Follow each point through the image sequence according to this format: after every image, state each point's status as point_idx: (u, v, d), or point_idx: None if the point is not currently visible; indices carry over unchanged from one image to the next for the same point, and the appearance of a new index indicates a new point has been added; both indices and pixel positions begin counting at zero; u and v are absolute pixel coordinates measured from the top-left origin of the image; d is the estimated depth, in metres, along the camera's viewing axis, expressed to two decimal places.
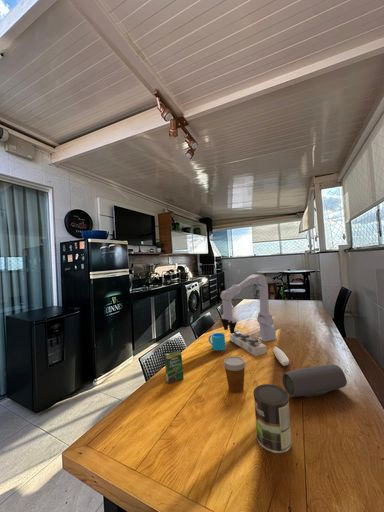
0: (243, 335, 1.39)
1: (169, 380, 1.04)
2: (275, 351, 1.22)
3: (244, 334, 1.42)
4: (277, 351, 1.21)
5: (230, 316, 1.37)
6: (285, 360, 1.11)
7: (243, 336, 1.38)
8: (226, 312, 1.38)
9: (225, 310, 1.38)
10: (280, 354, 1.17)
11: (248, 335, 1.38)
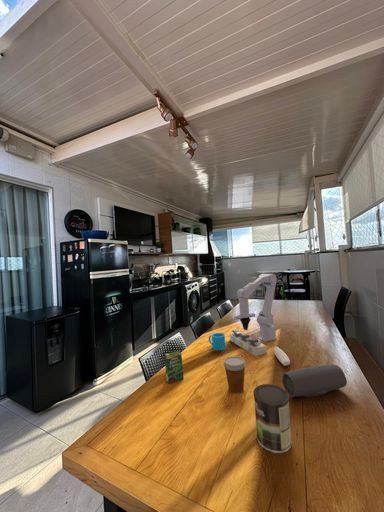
0: (243, 335, 1.39)
1: (169, 380, 1.04)
2: (276, 351, 1.22)
3: (244, 334, 1.42)
4: (278, 351, 1.21)
5: (240, 314, 1.39)
6: (286, 360, 1.11)
7: (243, 336, 1.38)
8: None
9: (243, 308, 1.38)
10: (281, 354, 1.17)
11: (248, 335, 1.38)
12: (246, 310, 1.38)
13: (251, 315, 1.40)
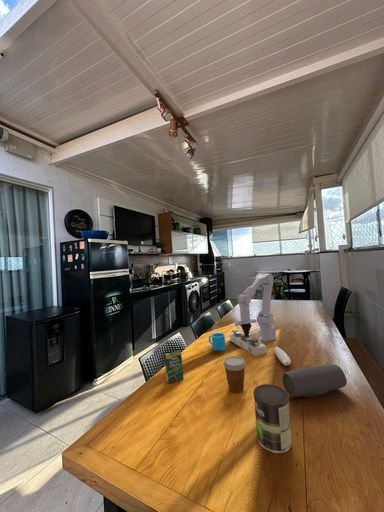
0: (243, 335, 1.39)
1: (169, 380, 1.04)
2: (276, 351, 1.22)
3: None
4: (278, 351, 1.21)
5: (241, 320, 1.36)
6: (287, 360, 1.11)
7: (243, 336, 1.38)
8: None
9: (244, 314, 1.35)
10: (281, 354, 1.16)
11: None
12: (247, 316, 1.35)
13: (252, 321, 1.37)
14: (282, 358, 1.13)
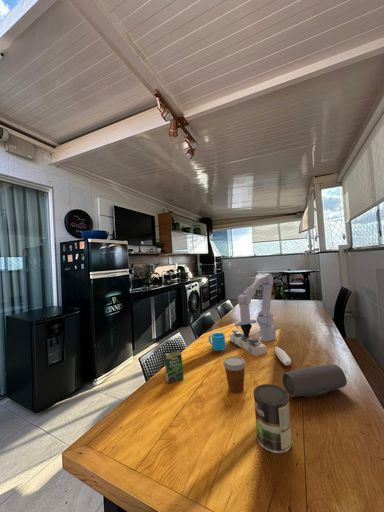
0: (243, 335, 1.39)
1: (169, 380, 1.04)
2: (277, 351, 1.22)
3: None
4: (279, 351, 1.21)
5: (241, 320, 1.36)
6: (287, 360, 1.11)
7: (243, 337, 1.38)
8: None
9: (244, 315, 1.35)
10: (282, 354, 1.16)
11: None
12: (247, 316, 1.35)
13: (252, 321, 1.37)
14: (282, 358, 1.13)
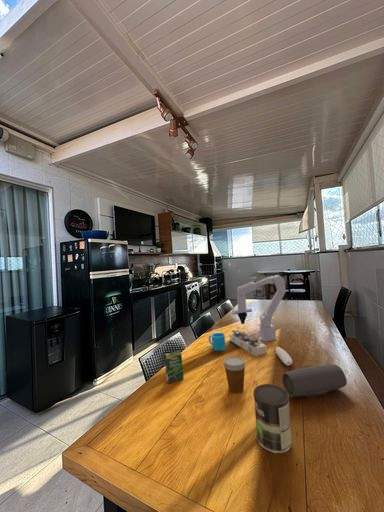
0: (243, 336, 1.39)
1: (169, 380, 1.04)
2: (278, 351, 1.22)
3: (244, 332, 1.42)
4: (280, 351, 1.21)
5: (238, 309, 1.52)
6: (289, 360, 1.11)
7: (243, 338, 1.38)
8: None
9: (238, 304, 1.52)
10: (283, 354, 1.16)
11: (248, 338, 1.37)
12: (243, 306, 1.51)
13: (248, 310, 1.53)
14: (284, 358, 1.13)
